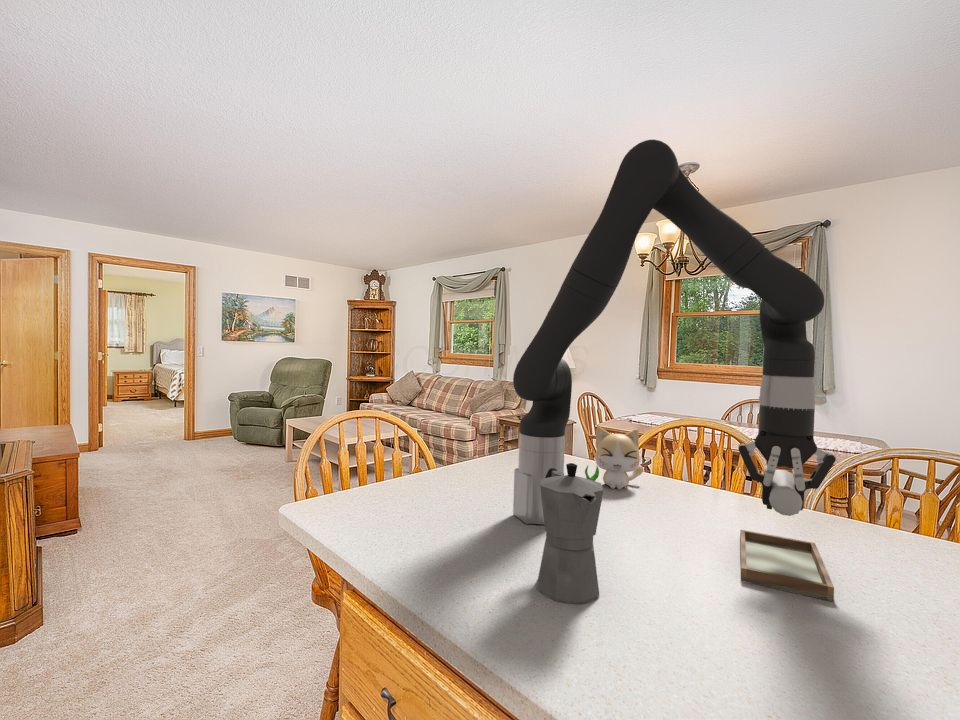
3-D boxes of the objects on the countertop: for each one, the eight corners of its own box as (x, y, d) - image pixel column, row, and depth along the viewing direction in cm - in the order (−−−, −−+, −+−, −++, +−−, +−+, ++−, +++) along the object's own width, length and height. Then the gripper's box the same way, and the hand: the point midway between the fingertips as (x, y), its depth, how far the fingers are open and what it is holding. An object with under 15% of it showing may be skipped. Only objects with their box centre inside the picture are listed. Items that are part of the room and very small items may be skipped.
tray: (833, 601, 66) (834, 587, 66) (740, 580, 72) (741, 567, 72) (814, 554, 82) (814, 542, 82) (739, 540, 88) (740, 529, 88)
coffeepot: (621, 609, 63) (625, 474, 62) (554, 616, 60) (558, 476, 60) (572, 559, 78) (576, 450, 77) (517, 563, 76) (521, 451, 75)
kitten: (583, 488, 119) (586, 429, 118) (584, 478, 128) (586, 423, 128) (646, 494, 115) (648, 433, 115) (642, 483, 125) (644, 427, 125)
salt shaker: (799, 468, 82) (809, 486, 70) (800, 501, 82) (810, 525, 70) (760, 465, 84) (763, 482, 73) (761, 497, 84) (764, 519, 73)
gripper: (737, 402, 77) (733, 508, 77) (845, 410, 70) (840, 525, 70) (737, 399, 83) (733, 496, 83) (835, 405, 76) (831, 511, 77)
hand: (782, 509), depth 77 cm, fingers closed on salt shaker, 3 cm apart
